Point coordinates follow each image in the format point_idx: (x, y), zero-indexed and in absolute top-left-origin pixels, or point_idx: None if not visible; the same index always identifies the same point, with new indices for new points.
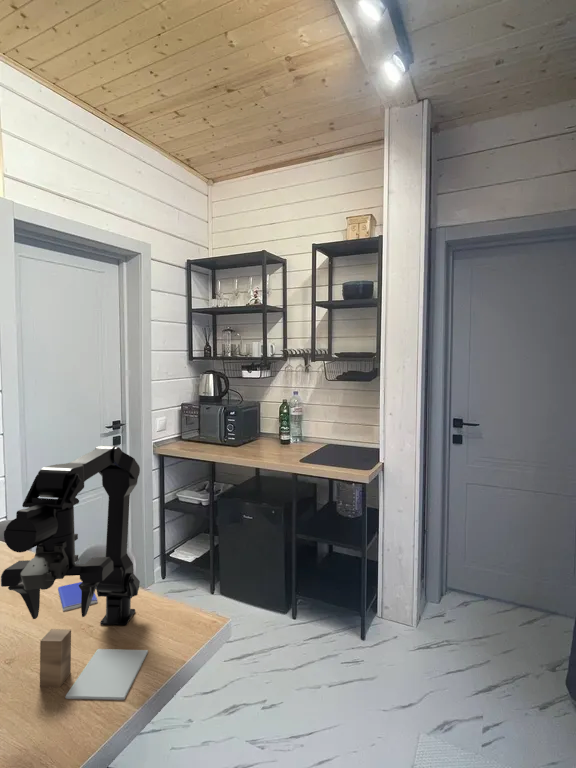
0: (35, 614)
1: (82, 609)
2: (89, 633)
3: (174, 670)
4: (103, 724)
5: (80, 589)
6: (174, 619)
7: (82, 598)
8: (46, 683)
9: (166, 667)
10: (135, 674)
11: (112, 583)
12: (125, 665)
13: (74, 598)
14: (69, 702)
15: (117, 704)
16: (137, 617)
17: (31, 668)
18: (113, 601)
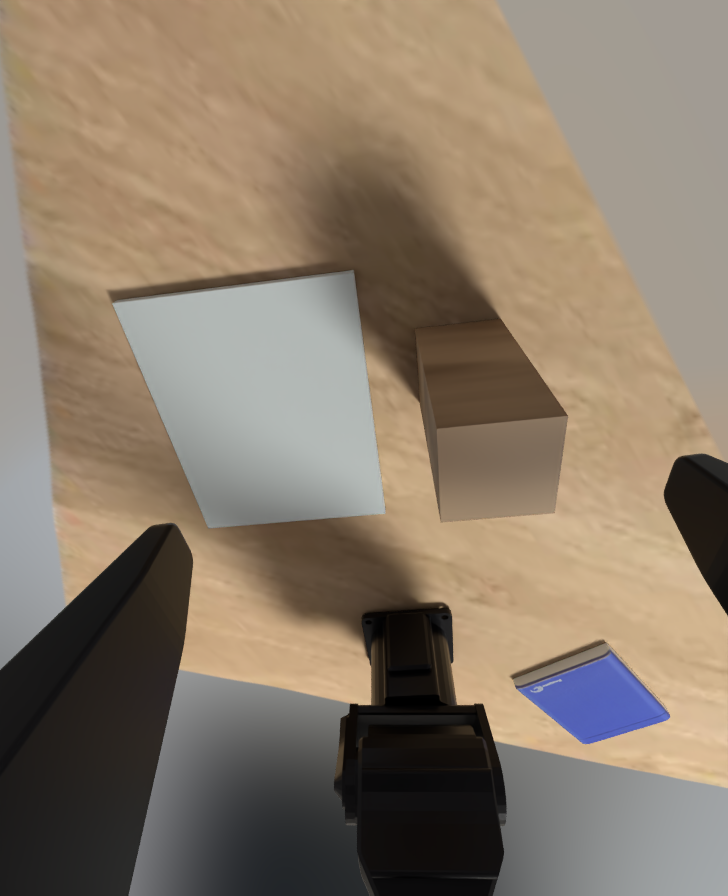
0: (703, 492)
1: (116, 584)
2: (463, 572)
3: (59, 461)
4: (92, 148)
5: (592, 716)
6: (231, 646)
7: (1, 742)
8: (474, 326)
9: (97, 470)
10: (163, 420)
11: (404, 775)
12: (232, 456)
13: (593, 686)
14: (323, 251)
15: (124, 272)
16: (349, 642)
17: (585, 403)
18: (411, 689)
